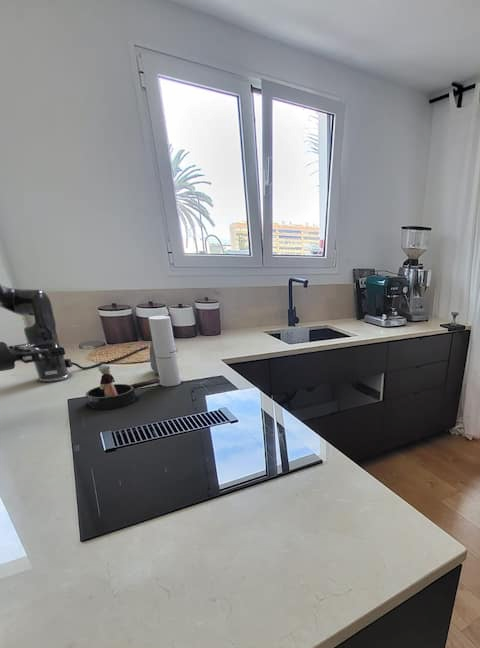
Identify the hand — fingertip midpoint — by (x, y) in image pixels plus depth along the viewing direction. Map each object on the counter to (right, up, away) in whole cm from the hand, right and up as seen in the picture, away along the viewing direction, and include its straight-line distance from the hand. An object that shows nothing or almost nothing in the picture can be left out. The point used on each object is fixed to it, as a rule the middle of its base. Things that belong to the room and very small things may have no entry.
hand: (57, 348), depth 116 cm
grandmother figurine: (+6, -15, +16) cm, 23 cm away
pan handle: (+12, -9, +24) cm, 29 cm away
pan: (+6, -15, +17) cm, 23 cm away
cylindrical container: (+16, -8, +35) cm, 40 cm away
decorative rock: (+8, -3, +46) cm, 47 cm away
